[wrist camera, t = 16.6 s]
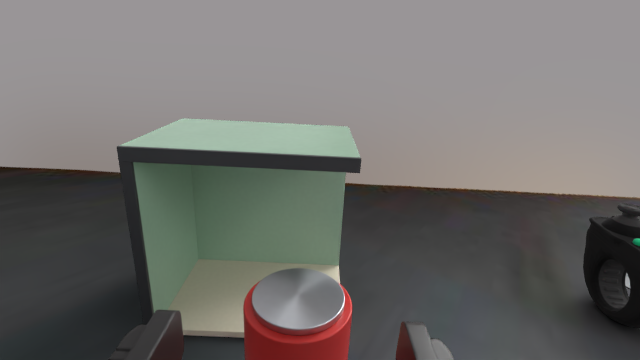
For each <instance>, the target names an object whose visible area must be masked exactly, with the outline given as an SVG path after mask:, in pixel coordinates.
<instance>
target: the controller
mask: <svg viewBox="0 0 640 360" xmlns="http://www.w3.org/2000/svg"><path fill="white" fill-rule="evenodd" d="M618 209H619V210H620V211H622V212H623V213H622V214H620V215H616V216H612V217H609V218H608V217H591V218H590V219H589V220H590V222H591V225H590V227H589V229H588V231H587V235H586V247H585V253H584V264H583V268H584V277H585V282H586V285H587V288H588V290H589V293H590V295H591V297H592V299H593V301H594V302H595V304H596V305H597V306H598V307H599V309H600V310H601V311H602V312H603V313H604V314H606V315H607V316H608V317H610V318H611V319H613V320H614V321H616V322H618V323H620V324H623V325H626V326H630V327H635V328H640V220H639V219H638V218H637V217H638V216H640V206H637V205H633V204H627V203H621V204H619V205H618ZM626 273H627V274H628V277H629V280H630V287H631V289H630V297H629V296H628V294H627V290H626V286H625V277H626Z"/></svg>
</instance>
